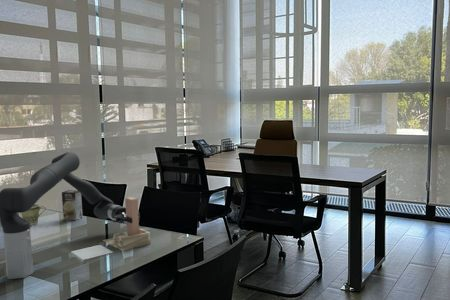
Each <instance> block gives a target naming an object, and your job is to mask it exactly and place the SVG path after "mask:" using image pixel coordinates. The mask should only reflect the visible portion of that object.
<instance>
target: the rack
mask: <svg viewBox="0 0 450 300" xmlns="http://www.w3.org/2000/svg"><path fill="white" fill-rule="evenodd" d="M102 241H103V242H105V243H107V244H108V245H110V246H112V247H114V248H115V249H118V250H120V251H126V250H130V249H133V248H137V247H142V246H146V245H150V244H151V232H150V231H148V230H145V229H143V228H140V227H139V234H137V235H132V236H128V237H124V238H122V248H121V247H119V246H117V245H115V244H113V237H111V238H107V239H102Z"/></svg>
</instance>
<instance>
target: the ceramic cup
mask: <svg viewBox="0 0 450 300" xmlns="http://www.w3.org/2000/svg"><path fill="white" fill-rule="evenodd" d="M42 208H44V209H43V211H41V213H40V214H39V212H40V210H41V209H42ZM45 211H46V207H45V206H44V205H40V204H36V203H35V204H34V205H33V206H32V207H31V208H30V209H29V210H28V211H26V212H22V213H20V214H21V218H23V219H26V220H28V221H29V223H30V226H34V225H37V224H38V223H39V218H40V216H42V214H43V213H44V212H45Z"/></svg>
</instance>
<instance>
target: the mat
mask: <svg viewBox="0 0 450 300" xmlns="http://www.w3.org/2000/svg"><path fill="white" fill-rule="evenodd" d="M112 253H113V250H110V249H109V248H107V247H105V246H103V245H101V244H99V245H98V244H97V245H93V246H90V247H89V246H88V247H85V248H81V249H80V248H79V249H76V250H71V251H70V255H71V256H72V255H73V256H74V258H75V257H76V258H77V259H76V258H75V259H76V260H78V261H79V260H80V261H79V262H81V263H82V262H83V263H82V264H86V262H87V261H86V260H88V259H92V258H96V257H100V256H103V255H108V254H112ZM73 256H72V257H73Z"/></svg>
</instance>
